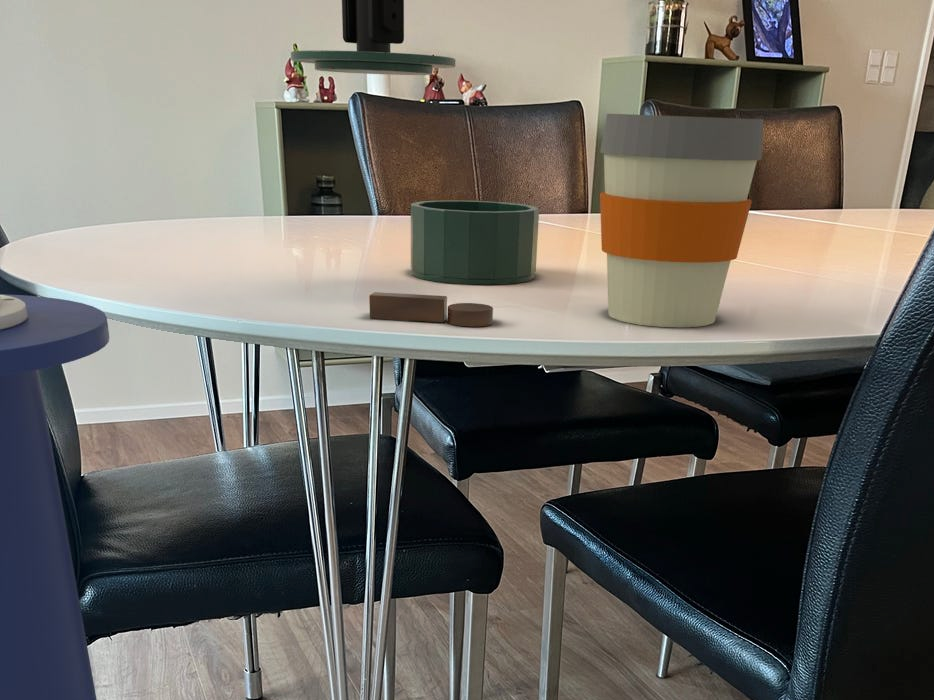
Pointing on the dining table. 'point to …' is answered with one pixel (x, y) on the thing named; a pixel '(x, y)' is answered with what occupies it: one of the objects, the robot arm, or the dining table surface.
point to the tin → (474, 242)
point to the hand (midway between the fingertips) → (373, 40)
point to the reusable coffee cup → (674, 213)
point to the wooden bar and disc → (428, 309)
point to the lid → (371, 55)
